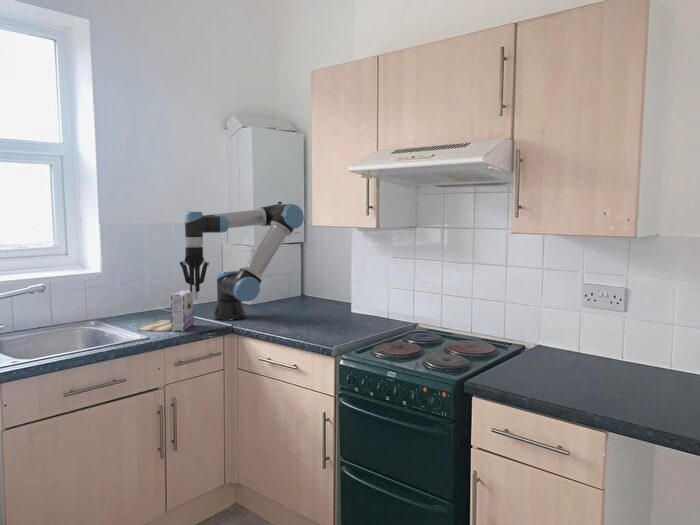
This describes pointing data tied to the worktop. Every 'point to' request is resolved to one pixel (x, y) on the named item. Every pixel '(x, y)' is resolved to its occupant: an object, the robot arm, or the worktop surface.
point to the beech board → (157, 326)
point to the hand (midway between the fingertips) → (195, 299)
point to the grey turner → (165, 321)
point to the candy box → (182, 310)
